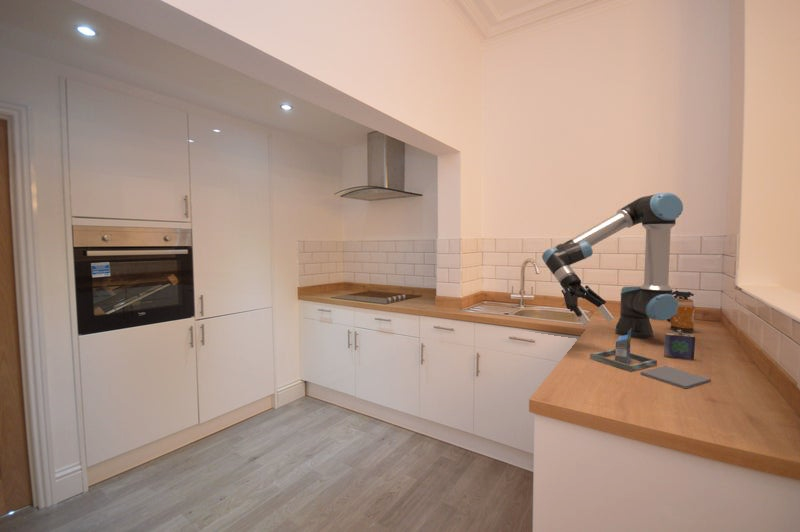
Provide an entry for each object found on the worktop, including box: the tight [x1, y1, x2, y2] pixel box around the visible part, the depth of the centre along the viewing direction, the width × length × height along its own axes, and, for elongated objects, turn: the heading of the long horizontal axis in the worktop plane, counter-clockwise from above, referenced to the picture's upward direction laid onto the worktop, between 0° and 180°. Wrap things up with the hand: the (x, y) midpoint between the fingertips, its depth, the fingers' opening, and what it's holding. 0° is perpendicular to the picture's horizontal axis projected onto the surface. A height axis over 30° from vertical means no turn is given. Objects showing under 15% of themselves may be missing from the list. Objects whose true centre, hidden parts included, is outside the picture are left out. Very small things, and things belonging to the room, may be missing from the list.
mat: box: [640, 365, 712, 390], centre depth 114 cm, size 14×13×1 cm
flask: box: [663, 330, 696, 361], centre depth 134 cm, size 9×3×11 cm, turn 65°
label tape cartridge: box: [614, 328, 632, 365], centre depth 129 cm, size 9×4×12 cm, turn 141°
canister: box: [666, 290, 696, 333], centre depth 175 cm, size 9×11×20 cm
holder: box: [589, 348, 658, 372], centre depth 129 cm, size 15×15×2 cm
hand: (599, 321), depth 137 cm, fingers open, 13 cm apart
